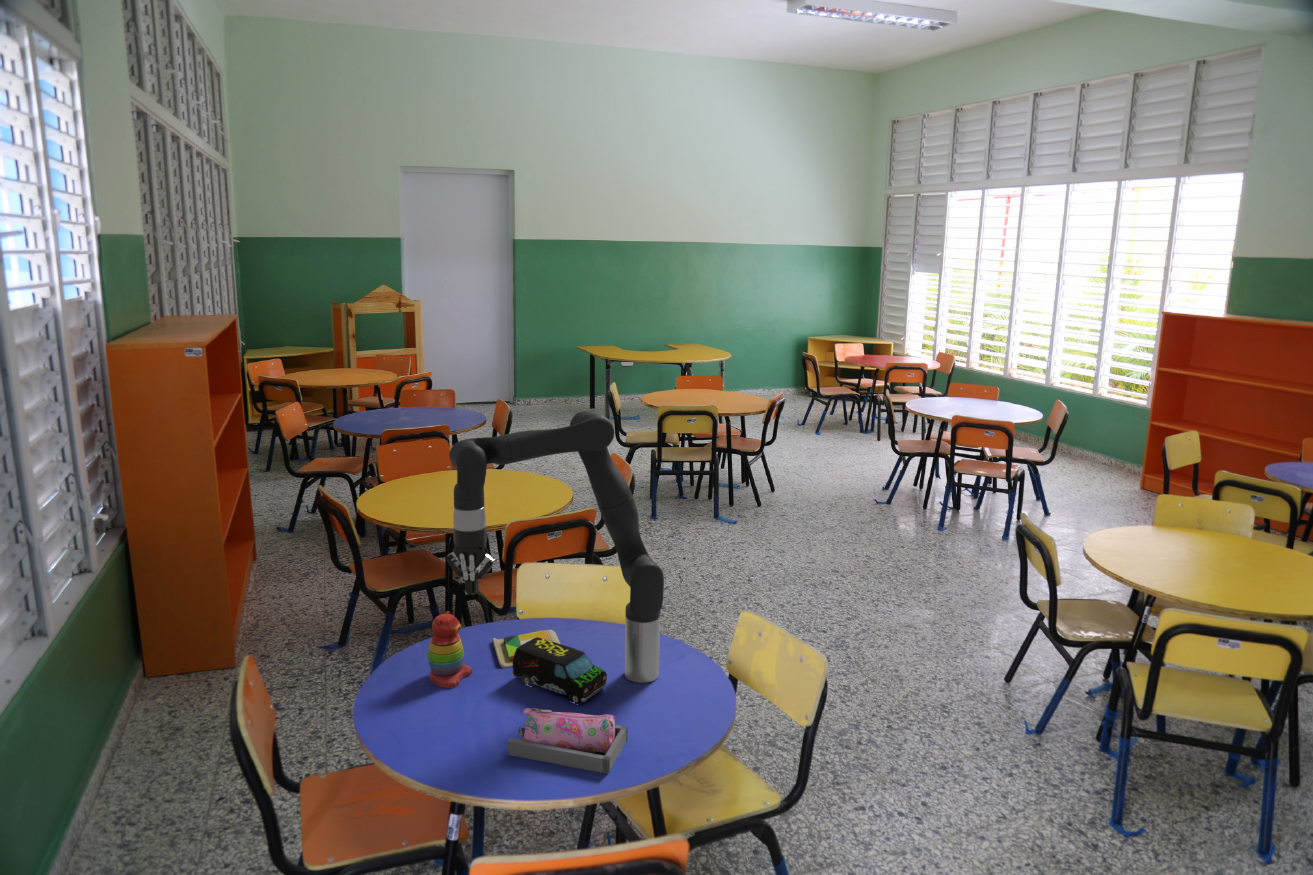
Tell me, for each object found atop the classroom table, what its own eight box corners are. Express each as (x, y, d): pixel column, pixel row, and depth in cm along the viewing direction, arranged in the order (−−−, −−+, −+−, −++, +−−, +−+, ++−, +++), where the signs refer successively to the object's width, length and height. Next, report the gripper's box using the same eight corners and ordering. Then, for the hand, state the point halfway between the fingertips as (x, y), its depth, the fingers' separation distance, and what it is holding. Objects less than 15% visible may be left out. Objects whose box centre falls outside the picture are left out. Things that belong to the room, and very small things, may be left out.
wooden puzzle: (491, 642, 249) (491, 631, 248) (555, 635, 254) (555, 624, 253) (499, 670, 232) (499, 658, 232) (567, 661, 238) (567, 649, 237)
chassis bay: (533, 723, 206) (532, 710, 205) (627, 740, 199) (627, 726, 198) (507, 754, 193) (507, 740, 192) (608, 773, 186) (608, 759, 186)
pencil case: (517, 754, 193) (517, 718, 191) (529, 732, 202) (529, 697, 200) (610, 764, 190) (610, 727, 188) (618, 741, 199) (618, 706, 197)
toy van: (584, 709, 213) (584, 672, 211) (510, 681, 226) (509, 646, 224) (609, 691, 222) (609, 656, 219) (536, 665, 235) (536, 632, 232)
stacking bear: (453, 689, 221) (451, 626, 217) (419, 683, 224) (417, 620, 220) (475, 671, 231) (473, 609, 227) (442, 664, 234) (440, 604, 230)
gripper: (502, 523, 202) (504, 591, 206) (452, 517, 206) (455, 584, 210) (488, 532, 195) (489, 603, 199) (436, 526, 199) (439, 596, 202)
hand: (472, 593), depth 204 cm, fingers closed
